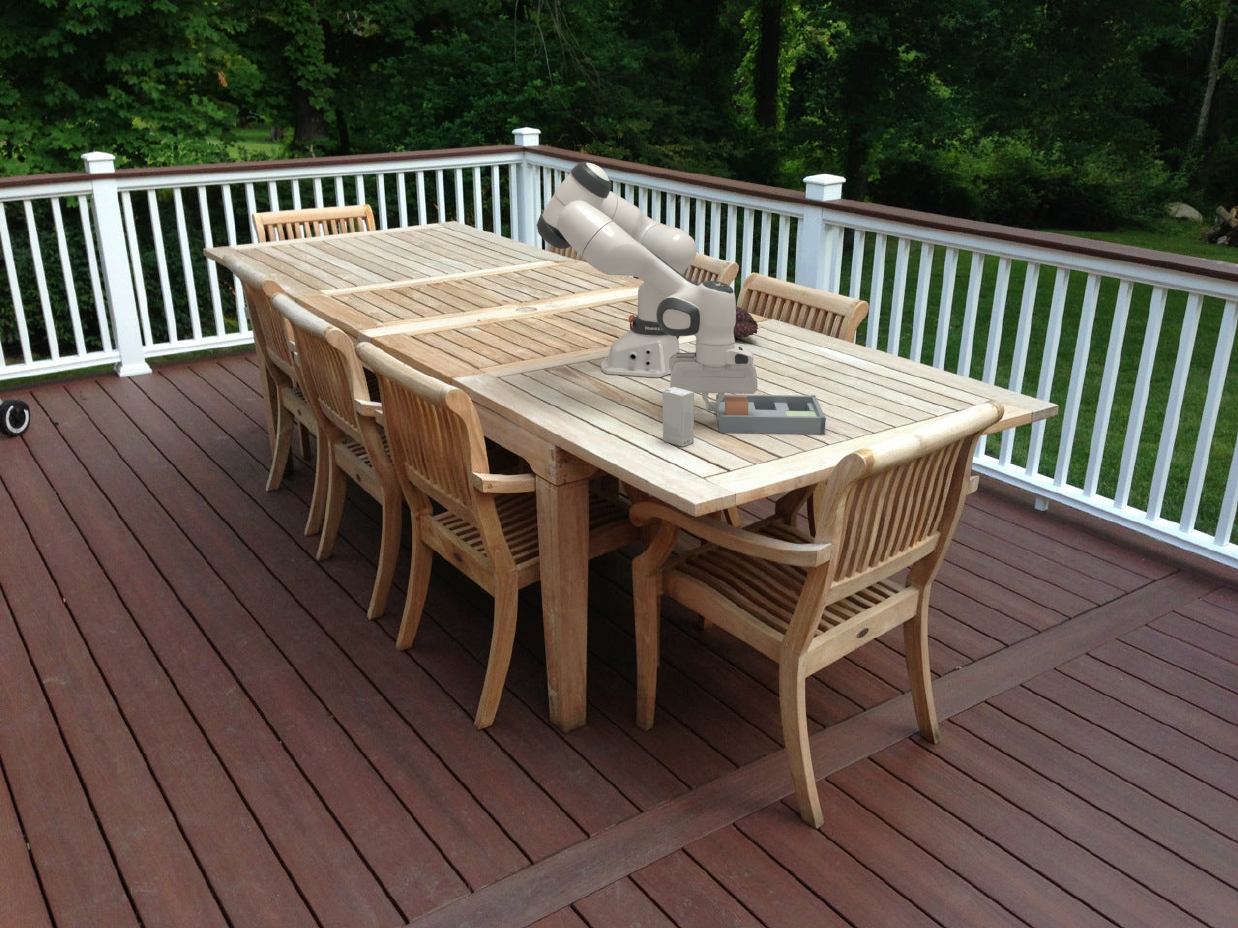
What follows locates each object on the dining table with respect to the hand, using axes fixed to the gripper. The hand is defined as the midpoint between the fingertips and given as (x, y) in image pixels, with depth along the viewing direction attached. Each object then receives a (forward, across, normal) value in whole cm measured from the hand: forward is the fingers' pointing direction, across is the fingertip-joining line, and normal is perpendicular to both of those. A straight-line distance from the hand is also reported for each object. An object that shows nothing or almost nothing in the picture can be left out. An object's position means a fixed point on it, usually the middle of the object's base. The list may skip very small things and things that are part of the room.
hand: (712, 410), depth 255 cm
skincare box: (+4, -8, -12) cm, 15 cm away
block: (+1, +6, 0) cm, 6 cm away
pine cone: (+4, +11, +77) cm, 78 cm away
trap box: (+4, +14, +3) cm, 14 cm away
